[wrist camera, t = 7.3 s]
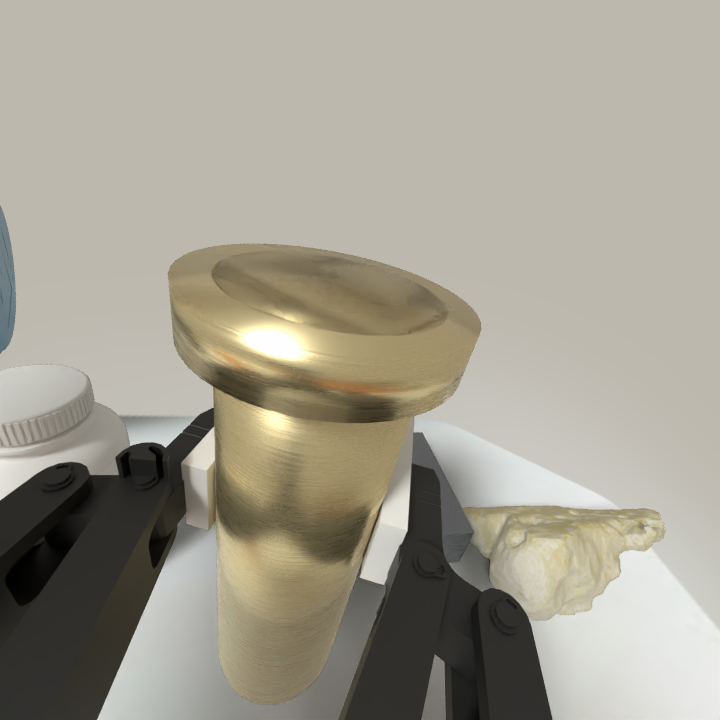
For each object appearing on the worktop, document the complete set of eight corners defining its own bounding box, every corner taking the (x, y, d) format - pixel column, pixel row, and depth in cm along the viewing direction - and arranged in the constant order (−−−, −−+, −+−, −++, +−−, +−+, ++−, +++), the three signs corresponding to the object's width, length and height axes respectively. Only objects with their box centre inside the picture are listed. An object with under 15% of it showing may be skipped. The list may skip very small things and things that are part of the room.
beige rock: (429, 619, 27) (687, 712, 17) (419, 519, 28) (647, 550, 18) (504, 561, 37) (687, 596, 27) (494, 491, 39) (662, 501, 29)
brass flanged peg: (162, 674, 13) (72, 267, 5) (260, 535, 18) (286, 235, 11) (307, 773, 12) (472, 415, 4) (367, 591, 17) (485, 292, 9)
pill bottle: (128, 496, 29) (96, 341, 22) (164, 570, 24) (139, 406, 17) (-5, 555, 23) (-106, 372, 16) (10, 664, 19) (-119, 479, 12)
